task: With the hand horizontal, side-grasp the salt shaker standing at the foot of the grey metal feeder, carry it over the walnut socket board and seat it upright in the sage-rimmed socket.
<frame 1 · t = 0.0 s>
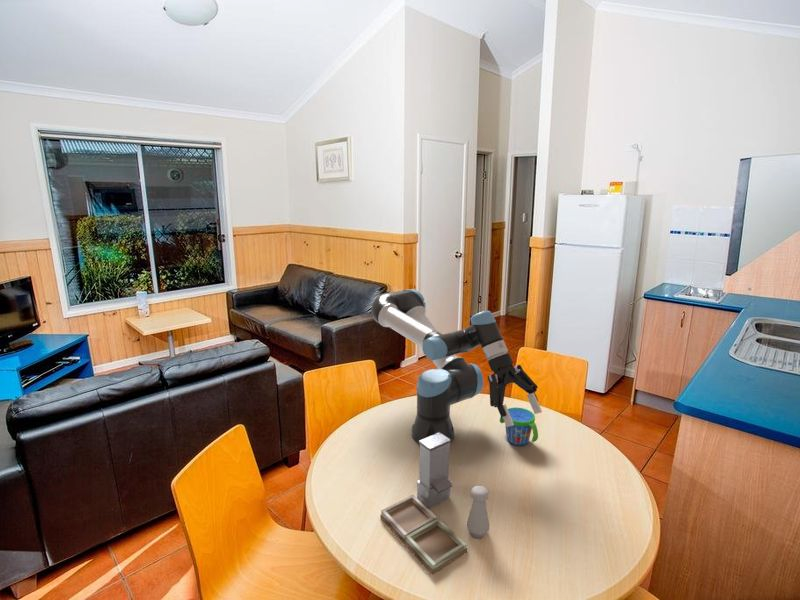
hand: (524, 419, 139), 15 cm above the table, tool tilted 35°, fingers open, 13 cm apart
salt shaker: (477, 533, 113), on the table
socket board: (421, 534, 113), on the table
snack cup: (517, 440, 154), on the table
feeder: (433, 498, 126), on the table
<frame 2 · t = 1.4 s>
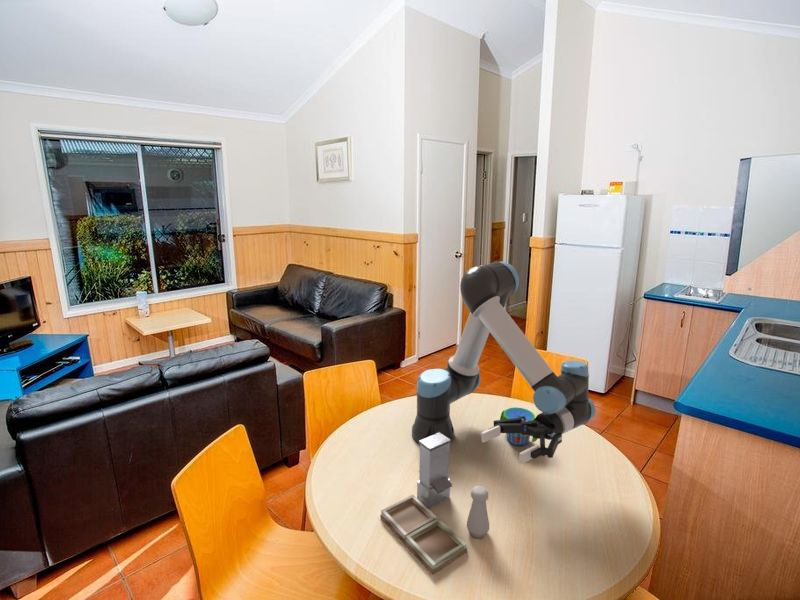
hand: (500, 447, 115), 20 cm above the table, tool horizontal, fingers open, 13 cm apart
nothing on the table moved.
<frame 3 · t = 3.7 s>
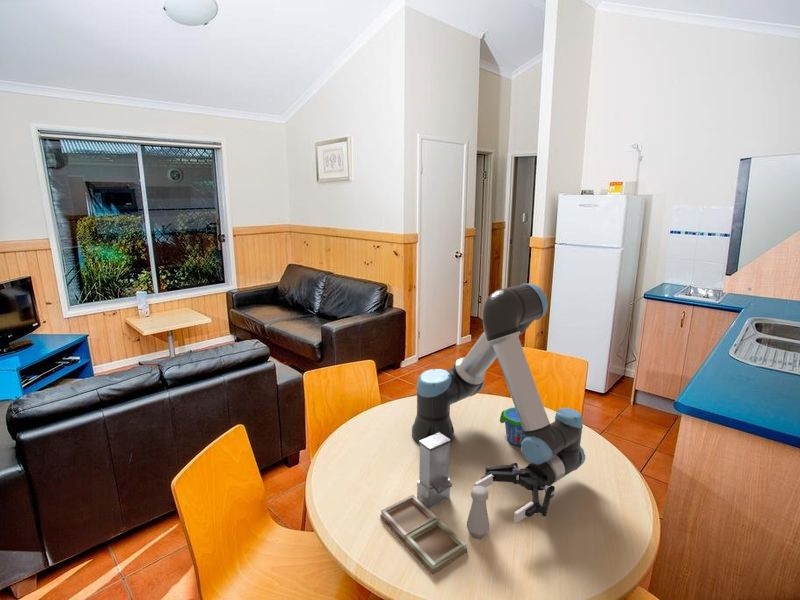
hand: (494, 502, 114), 7 cm above the table, tool horizontal, fingers open, 13 cm apart
nothing on the table moved.
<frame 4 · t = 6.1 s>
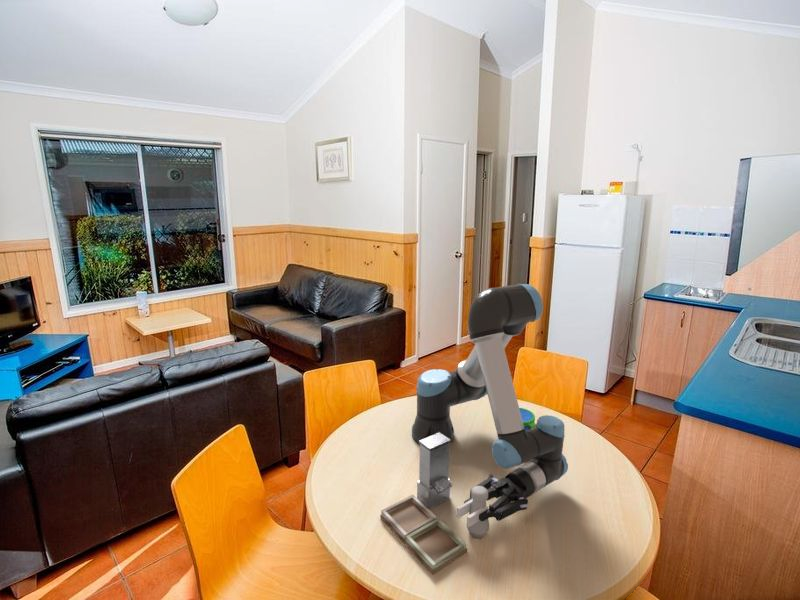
hand: (462, 517, 108), 7 cm above the table, tool horizontal, fingers closed on salt shaker, 3 cm apart
salt shaker: (477, 533, 113), on the table, touching gripper
everything else where it was.
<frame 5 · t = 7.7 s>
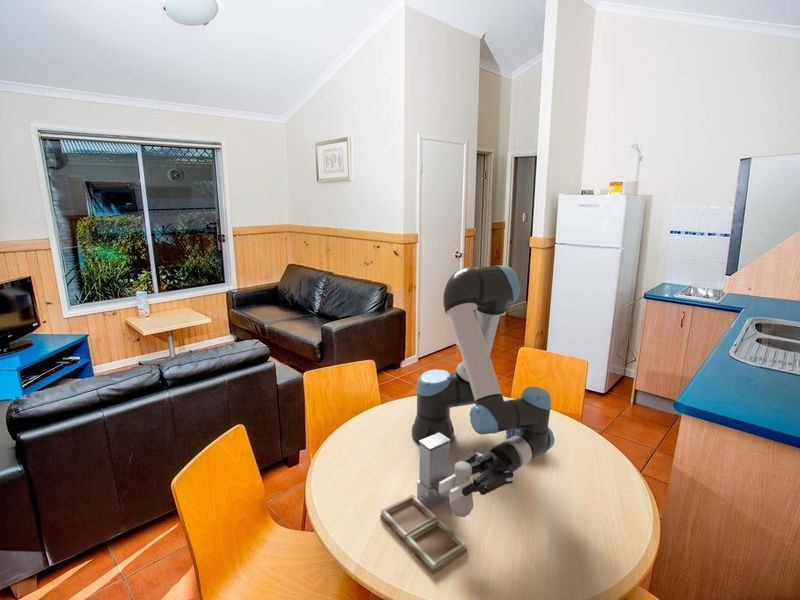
hand: (445, 492, 102), 18 cm above the table, tool horizontal, fingers closed on salt shaker, 3 cm apart
salt shaker: (461, 512, 107), point 10 cm above the table, touching gripper
everything else where it was.
when the fingers open (10 cm above the table, at t = 9.7 s): salt shaker stays where it is, resting on socket board.
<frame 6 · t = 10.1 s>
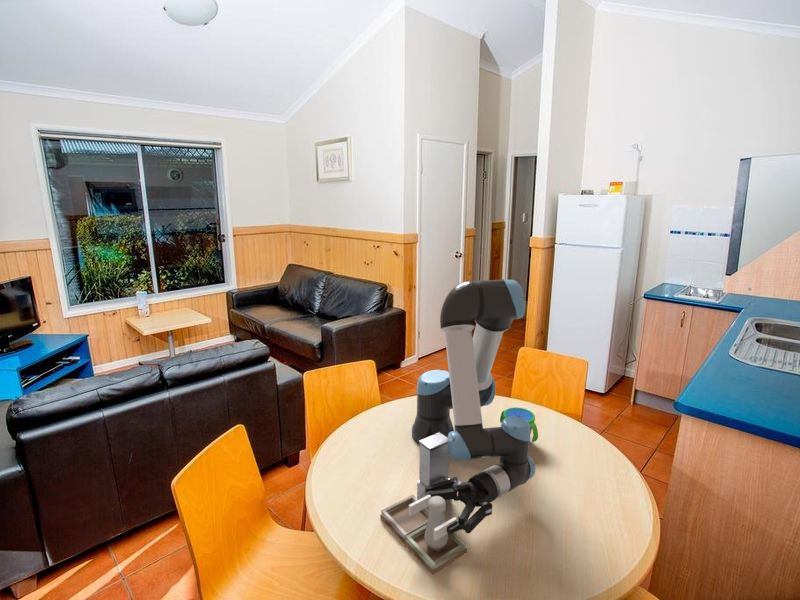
hand: (421, 522, 103), 10 cm above the table, tool horizontal, fingers open, 9 cm apart
salt shaker: (436, 545, 108), point 1 cm above the table, touching socket board
everything else where it was.
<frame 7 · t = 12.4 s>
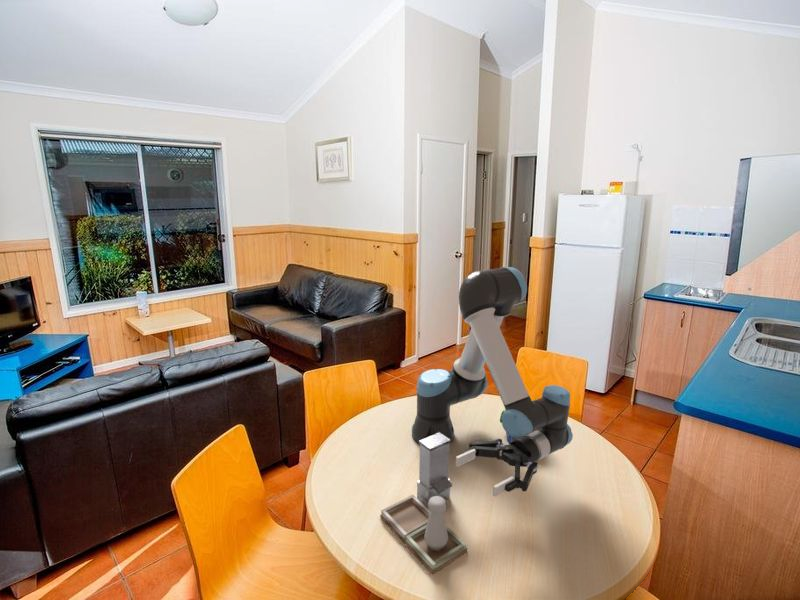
hand: (474, 476, 112), 15 cm above the table, tool horizontal, fingers open, 13 cm apart
nothing on the table moved.
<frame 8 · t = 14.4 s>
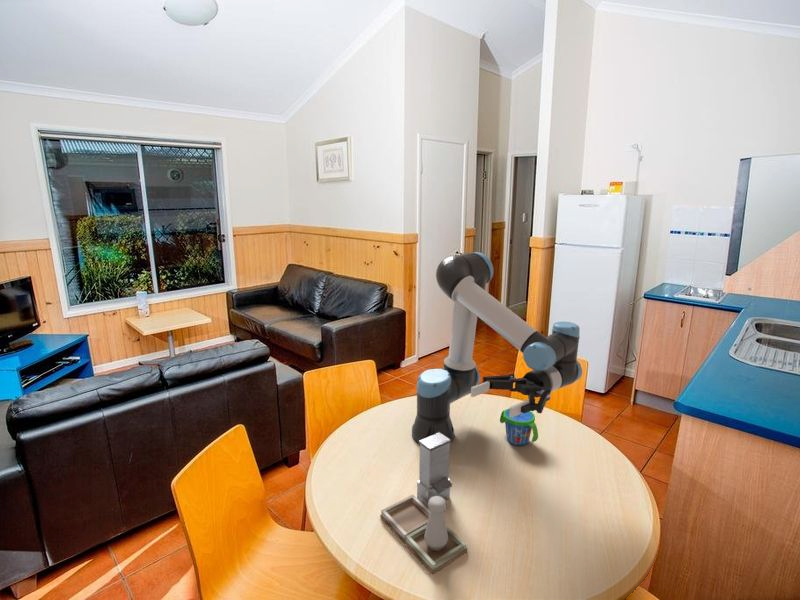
hand: (490, 401, 115), 32 cm above the table, tool horizontal, fingers open, 13 cm apart
nothing on the table moved.
at the end: salt shaker inside the target area (0.1 cm from its centre), point 0.8 cm above the table; salt shaker tilted 0°; the gripper is holding nothing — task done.
